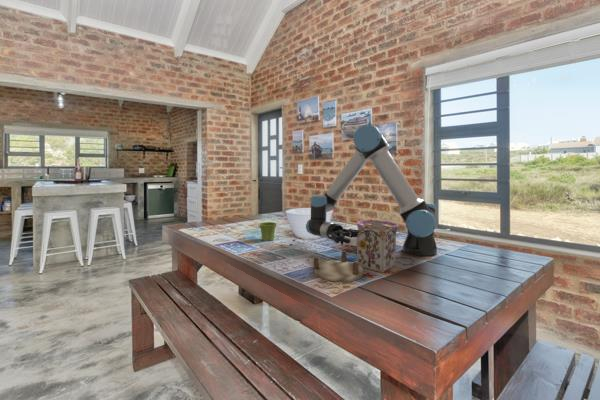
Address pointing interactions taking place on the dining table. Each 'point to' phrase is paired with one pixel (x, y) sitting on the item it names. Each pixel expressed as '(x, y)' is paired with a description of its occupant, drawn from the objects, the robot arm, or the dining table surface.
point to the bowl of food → (386, 223)
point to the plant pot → (268, 230)
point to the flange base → (338, 269)
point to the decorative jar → (376, 247)
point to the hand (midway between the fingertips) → (368, 240)
